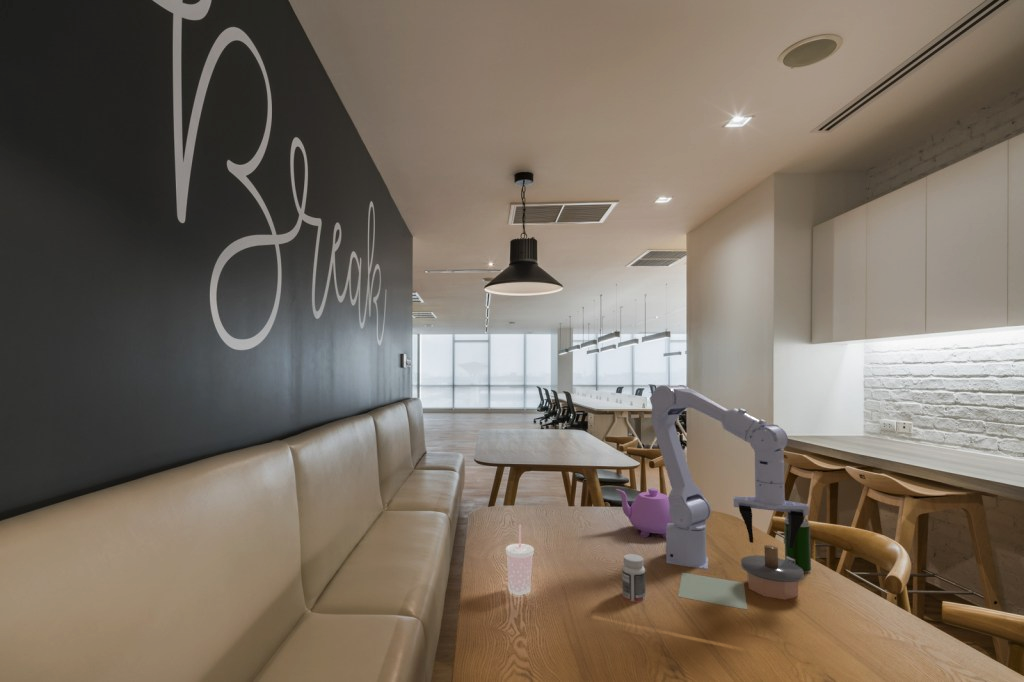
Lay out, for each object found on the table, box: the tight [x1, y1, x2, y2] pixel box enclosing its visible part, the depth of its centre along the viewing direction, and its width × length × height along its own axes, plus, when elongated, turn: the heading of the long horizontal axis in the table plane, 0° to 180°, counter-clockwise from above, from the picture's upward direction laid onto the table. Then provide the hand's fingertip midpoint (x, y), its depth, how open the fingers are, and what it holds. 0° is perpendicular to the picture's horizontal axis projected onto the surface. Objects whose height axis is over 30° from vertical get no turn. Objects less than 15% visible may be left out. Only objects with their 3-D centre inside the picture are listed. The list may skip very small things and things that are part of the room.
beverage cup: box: [505, 524, 535, 595], centre depth 103 cm, size 6×6×14 cm
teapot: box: [615, 487, 673, 538], centre depth 141 cm, size 20×14×12 cm
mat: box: [677, 572, 748, 610], centre depth 103 cm, size 13×13×1 cm
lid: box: [740, 544, 805, 582], centre depth 104 cm, size 12×12×5 cm
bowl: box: [746, 571, 799, 600], centre depth 104 cm, size 9×9×4 cm
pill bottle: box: [621, 553, 647, 603], centre depth 100 cm, size 5×5×8 cm
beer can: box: [783, 515, 812, 574], centre depth 115 cm, size 5×5×12 cm
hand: (770, 543), depth 104 cm, fingers open, 7 cm apart
